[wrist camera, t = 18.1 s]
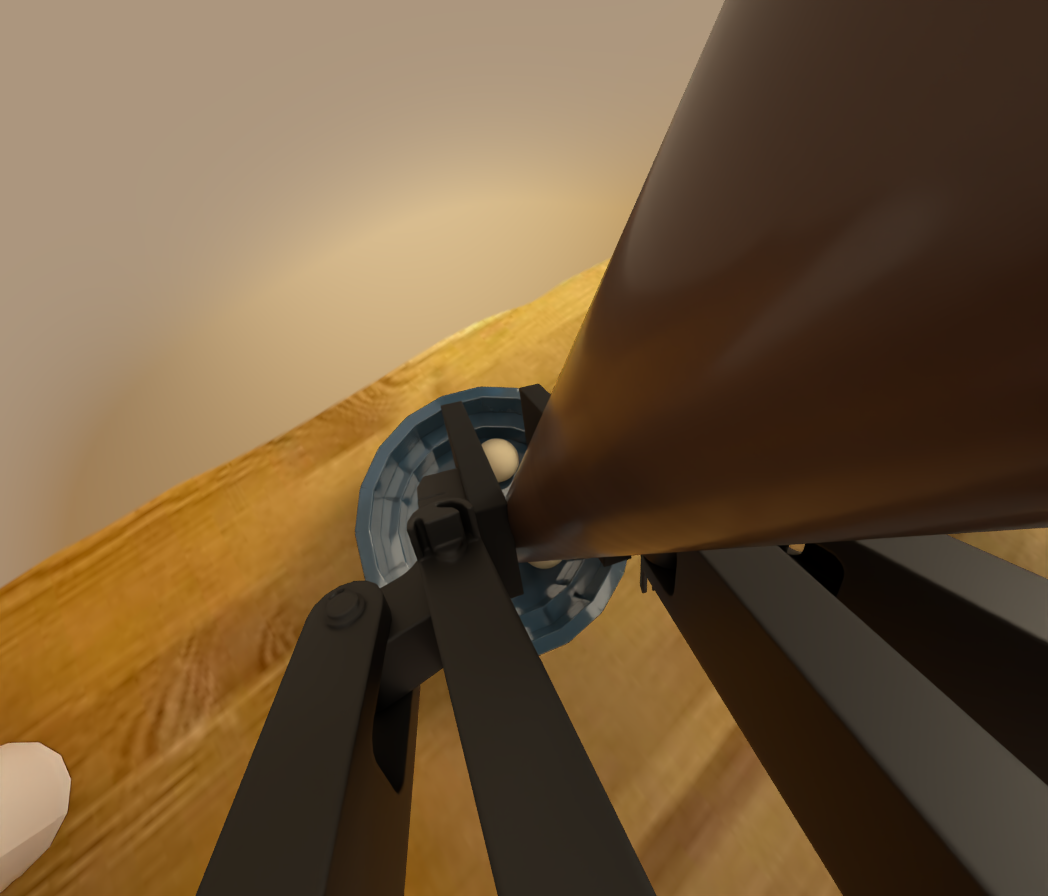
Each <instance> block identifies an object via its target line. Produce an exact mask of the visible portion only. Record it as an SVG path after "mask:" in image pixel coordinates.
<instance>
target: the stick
mask: <svg viewBox="0 0 1048 896" xmlns="http://www.w3.org/2000/svg"><path fill="white" fill-rule="evenodd" d="M505 499H506V501H507V514H508V522H509V526H510V529H511V532H512V535H513V537H514V541H515V547H516V552H517V558H518V563H524V562H539V561H554V560H568V559H583V558H598V557H613V556H628V555H643V554H658V553H673V552H688V551H703V550H718V549H733V548H748V547H763V546H777V545H792V544H807V543H822V542H837V541H852V540H867V539H882V538H897V537H912V536H927V535H942V534H957V533H971V532H986V531H1001V530H1016V529H1031V528H1046V527H1048V0H725V2H724V4H723V6H722V8H721V11H720V13H719V15H718V17H717V20H716V22H715V24H714V26H713V29H712V31H711V33H710V36H709V38H708V40H707V42H706V45H705V47H704V49H703V51H702V54H701V56H700V58H699V60H698V63H697V65H696V67H695V70H694V72H693V74H692V76H691V79H690V81H689V83H688V85H687V88H686V90H685V92H684V94H683V97H682V99H681V101H680V103H679V106H678V108H677V110H676V113H675V115H674V117H673V119H672V122H671V124H670V126H669V129H668V131H667V133H666V135H665V137H664V140H663V142H662V144H661V147H660V149H659V151H658V153H657V156H656V158H655V160H654V162H653V165H652V167H651V169H650V172H649V174H648V176H647V178H646V181H645V183H644V185H643V187H642V190H641V192H640V194H639V197H638V199H637V201H636V203H635V205H634V208H633V210H632V212H631V214H630V217H629V219H628V221H627V224H626V226H625V228H624V230H623V233H622V235H621V237H620V239H619V242H618V244H617V246H616V248H615V251H614V253H613V255H612V258H611V260H610V262H609V264H608V267H607V269H606V271H605V273H604V276H603V278H602V280H601V282H600V285H599V287H598V289H597V292H596V294H595V296H594V298H593V301H592V303H591V305H590V307H589V310H588V312H587V314H586V316H585V319H584V321H583V323H582V325H581V328H580V330H579V332H578V335H577V337H576V339H575V341H574V344H573V346H572V348H571V350H570V353H569V355H568V357H567V359H566V362H565V364H564V366H563V369H562V371H561V373H560V375H559V378H558V380H557V382H556V384H555V387H554V389H553V391H552V393H551V396H550V398H549V400H548V403H547V405H546V407H545V409H544V412H543V414H542V416H541V418H540V421H539V423H538V425H537V427H536V430H535V432H534V434H533V437H532V439H531V441H530V443H529V446H528V448H527V450H526V452H525V455H524V457H523V459H522V461H521V464H520V466H519V468H518V471H517V473H516V475H515V477H514V480H513V482H512V484H511V486H510V489H509V491H508V493H507V495H506V498H505Z"/></svg>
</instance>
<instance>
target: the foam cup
mask: <svg viewBox="0 0 1048 896" xmlns="http://www.w3.org/2000/svg"><path fill="white" fill-rule="evenodd" d="M70 785H71V778H70V776H69V774H68V771H67V769H66V766H65V764H64V762H63V759H62V757H61V755H60V754H58V753H56V752H54V751H53V750H51V749H49V748H48V747H46V746H44V745H43V744H41V743H39V742H29V743H7V744H5V745H2V746H0V893H1V892H2V891H3V890H4V889H6V888H7V887H8V886H9V885H10V884H11V883H12V882H13V881H14V880H15V879H17V878H18V877H20V876H21V875H22V874H23V873H24V872H25V871H26V870H27V869H28V868H29V867H30V866H31V865H32V864H33V863H34V862H35V861H36V860H37V859H38V858H39V857H40V856H41V855H42V854H43V853H44V852H45V851H46V850H47V849H48V848H49V847H50V845H51V843H52V841H53V839H54V837H55V835H56V833H57V831H58V829H59V828H60V826H61V824H62V822H63V820H64V818H65V816H66V814H67V811H68V803H69V794H70Z"/></svg>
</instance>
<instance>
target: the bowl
mask: <svg viewBox="0 0 1048 896" xmlns="http://www.w3.org/2000/svg"><path fill="white" fill-rule="evenodd" d="M458 401H462V403H463V405H464V407H465V410H466V412H467V414H468V416H469V418H470V421H471V423H472V425H473V427H474V430H475V432H476V434H477V436H478V438H479V441H480V443H481V445H482V444H483V443H484V442H485V441H487V440H490V439H494V438H500V439H504V440H506V441H508V442H510V443H511V444H512V445H513V446H514V447H515V449H516V450H517V453H518V456H519V464H518V468H519V466H520V464H521V461H522V459H523V457H524V455H525V452H526V450H527V443H526V436H525V428H524V421H523V414H522V407H521V399H520V392H519V389H518V388H505V387H476V388H472V389H468V390H464V391H460V392H456V393H453V394H449V395H445V396H442V397H439V398H438V399H436V400H434V401H433V402H431V403H429V404H428V405H426V406H424V407H423V408H421V409H419V410H418V411H416V412H414V413H412V414H411V415H409V416H408V417H406V418H405V419H404V420H403V421H402V423H401V424H400V425H399V426H398V427H397V428H396V429H395V430H394V431H393V432H392V434H391V435H390V436H389V437H388V438H387V439H386V440H385V441H384V442H383V443H382V445H381V446H380V447H379V449H378V450H377V452H376V454H375V456H374V459H373V461H372V463H371V465H370V467H369V469H368V472H367V474H366V476H365V478H364V480H363V482H362V485H361V488H360V492H359V500H358V509H357V517H356V526H355V537H356V541H357V546H358V550H359V555H360V560H361V564H362V569H363V573H364V577H365V580H367V581H370V582H373V583H376V584H377V585H378V586H379V587H380V588H381V587H383V586H385V585H387V584H388V583H390V582H392V581H394V580H396V579H397V578H399V577H400V576H402V575H403V574H405V573H406V572H407V571H408V570H409V569H410V568H411V567H412V566H413V565H414V564H415V562H416V561H417V558H416V555H415V552H414V550H413V547H412V544H411V541H410V538H409V535H408V533H407V521H408V520H409V518H410V517H411V515H412V514H413V513H414V512H415V511H416V510H417V509H418V497H417V487H418V485H419V483H420V482H421V480H422V478H423V477H424V476H428V475H432V474H436V473H440V472H444V471H448V470H451V469H455V468H456V467H455V463H454V459H453V455H452V451H451V447H450V443H449V439H448V434H447V430H446V426H445V422H444V418H443V414H442V410H441V406H440V405H445V404H449V403H454V402H458ZM518 468H517V470H516V472H515V473H514V475H513V476H512V477H511V478H509V479H508V480H506V481H503V482H498V483H499V485H500V487H501V490H502V492H503V494H504V496H505V498H506V495H507V493H508V491H509V489H510V486H511V484H512V482H513V480H514V477H515V475H516V473H517V471H518ZM626 562H627V560H625V561H622V562H619V563H616V564H613V565H610V566H607V567H604V566H603V564H602V563H601V561H600V560H599V558H583V559H568V560H562V561H561V562H560V563H559V564H557V565H556V566H554V567H552V568H548V569H540V568H537V567H534V566H532V565H531V564H529V563H528V562H524V563H519V569H520V575H521V580H522V586H523V591H524V594H523V595H520V596H517V597H514V598H511V600H512V602H513V604H514V607H515V609H516V611H517V613H518V615H519V617H520V619H521V621H522V623H523V625H524V627H525V629H526V631H527V633H528V635H529V637H530V639H531V641H532V643H533V645H534V647H535V649H536V651H537V653H538V655H541V654H544V653H546V652H549V651H551V650H553V649H556V648H558V647H561V646H563V645H565V644H567V643H569V642H570V641H571V640H572V639H573V638H575V637H576V636H577V635H578V634H579V633H580V632H581V631H582V630H583V629H585V628H586V627H587V626H588V625H589V624H590V623H591V622H592V621H593V620H594V619H596V618H597V617H598V616H599V615H600V614H601V613H602V611H603V610H604V608H605V607H606V605H607V603H608V601H609V599H610V598H611V596H612V594H613V592H614V590H615V589H616V587H617V585H618V583H619V581H620V580H621V578H622V576H623V574H624V572H625V567H626Z"/></svg>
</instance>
